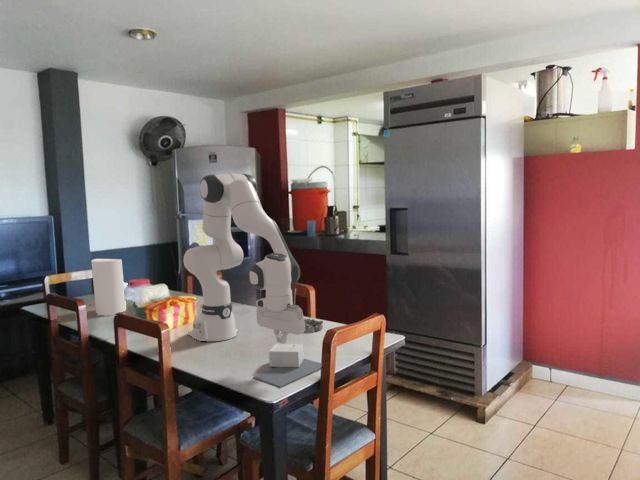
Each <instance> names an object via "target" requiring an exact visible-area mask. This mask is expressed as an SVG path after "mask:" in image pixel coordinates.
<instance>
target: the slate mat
mask: <svg viewBox="0 0 640 480" xmlns="http://www.w3.org/2000/svg"><path fill="white" fill-rule="evenodd" d="M320 370H322V369H321V362H318V361H315V360H311V359H308V358H304V360H303V361H302V363H301V365H300V366H299V367H272V368H271V369H269V370H265V371H264V372H261V373H259V374H256V375H253V377H252V378H253V379H255V380H259V381H262V382H264V383H267V384H270V385H272V386H276V387H278V388H283V387H285V386H287V385H289V384H292V383H294V382H296V381H298V380H300V379H303V378H305V377H307V376H309V375H311V374H313V373H315V372H317V371H318V372H319V371H320Z"/></svg>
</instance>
